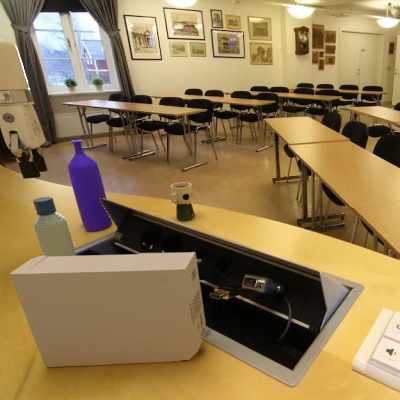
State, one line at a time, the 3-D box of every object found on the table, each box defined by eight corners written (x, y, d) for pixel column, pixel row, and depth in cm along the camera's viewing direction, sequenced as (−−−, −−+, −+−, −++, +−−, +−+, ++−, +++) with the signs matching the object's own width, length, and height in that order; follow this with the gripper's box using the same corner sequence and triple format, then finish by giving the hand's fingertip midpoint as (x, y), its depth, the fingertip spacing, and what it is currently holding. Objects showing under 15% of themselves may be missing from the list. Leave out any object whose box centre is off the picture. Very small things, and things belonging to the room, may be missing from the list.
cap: (34, 216, 81) (30, 202, 79) (39, 211, 84) (35, 197, 83) (54, 214, 82) (49, 200, 81) (58, 208, 86) (54, 195, 84)
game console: (66, 343, 63) (36, 254, 56) (208, 337, 65) (195, 251, 58) (45, 368, 57) (8, 273, 50) (200, 360, 59) (185, 269, 52)
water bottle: (45, 273, 85) (22, 207, 78) (52, 261, 90) (31, 198, 83) (75, 268, 87) (55, 203, 81) (80, 256, 93) (62, 195, 86)
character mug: (184, 225, 113) (178, 190, 108) (167, 222, 115) (161, 188, 110) (203, 213, 123) (199, 181, 118) (187, 211, 125) (183, 179, 120)
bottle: (78, 230, 108) (52, 142, 97) (99, 220, 116) (78, 137, 105) (98, 233, 106) (74, 143, 96) (118, 223, 114) (98, 139, 103)
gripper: (18, 100, 67) (44, 182, 74) (43, 95, 82) (63, 165, 88) (-30, 101, 64) (2, 186, 71) (5, 96, 79) (29, 168, 85)
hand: (36, 173), depth 80 cm, fingers open, 5 cm apart
